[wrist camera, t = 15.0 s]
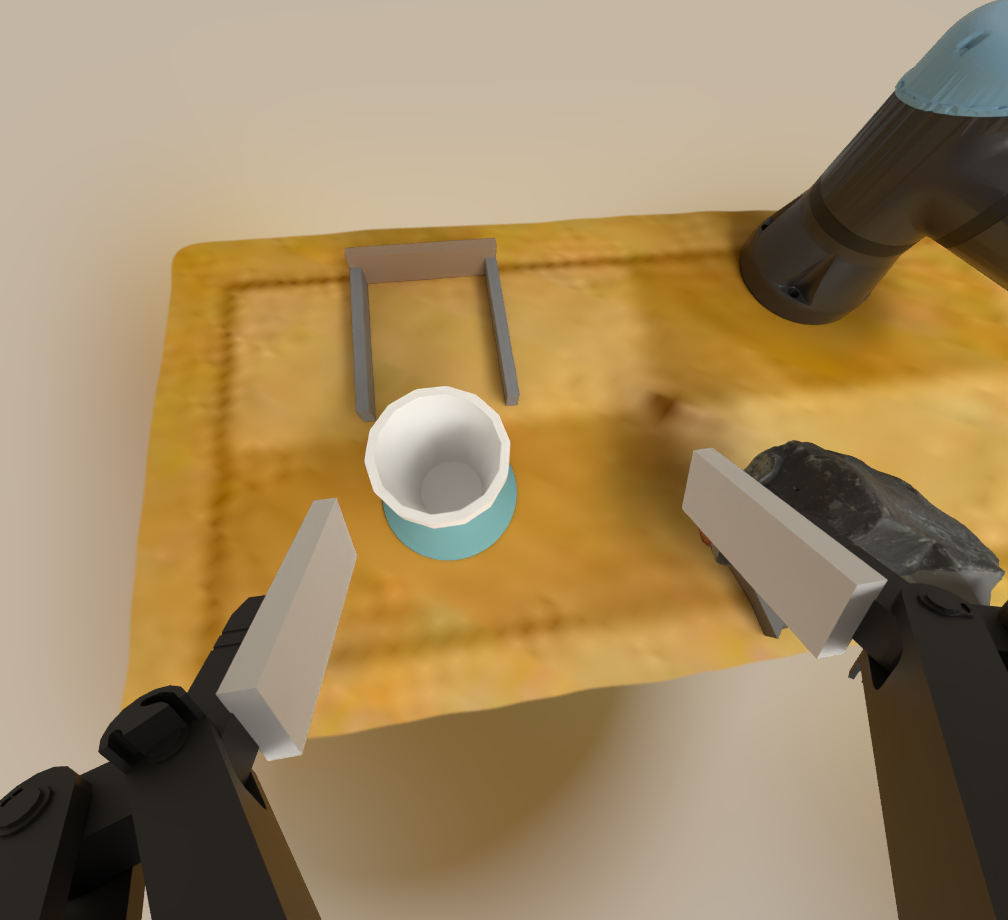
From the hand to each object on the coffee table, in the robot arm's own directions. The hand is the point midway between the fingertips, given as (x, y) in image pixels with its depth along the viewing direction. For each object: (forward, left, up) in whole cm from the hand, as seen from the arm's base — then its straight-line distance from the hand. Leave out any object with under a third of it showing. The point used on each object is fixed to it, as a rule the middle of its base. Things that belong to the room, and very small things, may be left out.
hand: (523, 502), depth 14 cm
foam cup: (+4, -6, -23) cm, 24 cm away
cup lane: (+4, -23, -23) cm, 33 cm away
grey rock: (-24, +4, -24) cm, 34 cm away
